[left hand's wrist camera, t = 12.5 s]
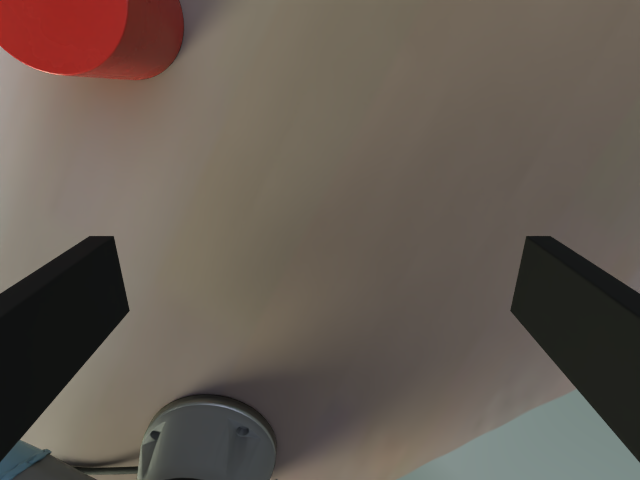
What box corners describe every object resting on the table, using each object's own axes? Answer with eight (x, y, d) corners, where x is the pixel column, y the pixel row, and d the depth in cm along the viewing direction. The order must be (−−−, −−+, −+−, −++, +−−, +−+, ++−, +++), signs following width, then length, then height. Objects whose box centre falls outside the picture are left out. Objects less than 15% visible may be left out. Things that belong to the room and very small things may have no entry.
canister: (109, 97, 32) (29, 99, 23) (44, -19, 29) (-78, -69, 20) (204, 53, 31) (158, 37, 22) (146, -72, 28) (65, -150, 19)
